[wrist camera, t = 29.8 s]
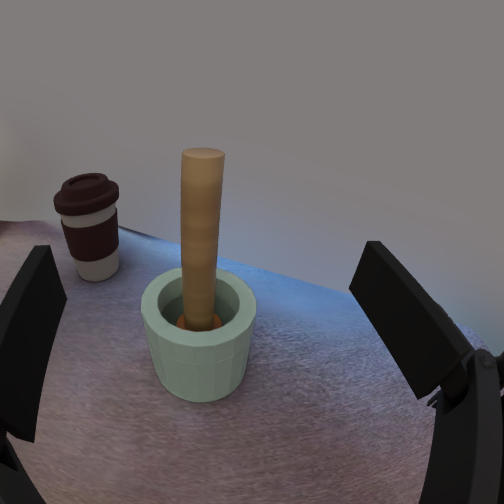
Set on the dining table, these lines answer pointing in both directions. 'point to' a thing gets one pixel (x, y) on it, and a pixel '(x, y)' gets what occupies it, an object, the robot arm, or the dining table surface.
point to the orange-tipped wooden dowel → (200, 236)
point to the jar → (199, 337)
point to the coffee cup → (90, 224)
